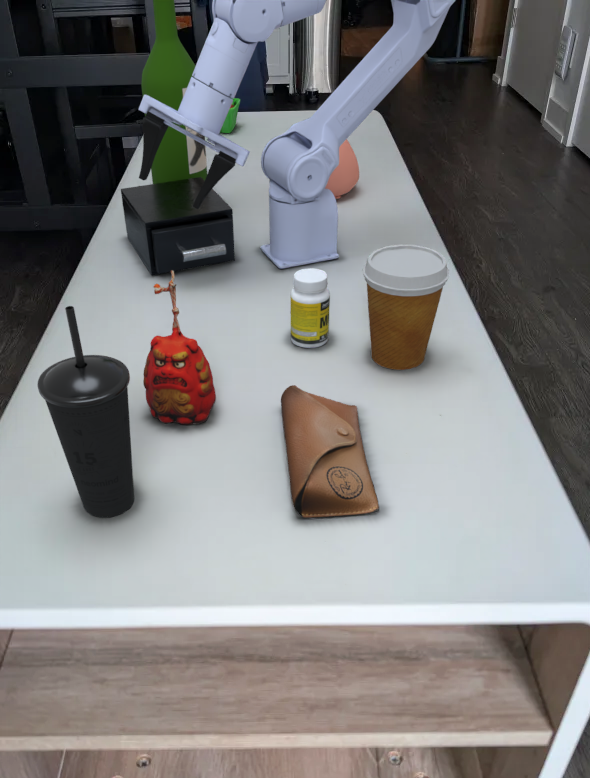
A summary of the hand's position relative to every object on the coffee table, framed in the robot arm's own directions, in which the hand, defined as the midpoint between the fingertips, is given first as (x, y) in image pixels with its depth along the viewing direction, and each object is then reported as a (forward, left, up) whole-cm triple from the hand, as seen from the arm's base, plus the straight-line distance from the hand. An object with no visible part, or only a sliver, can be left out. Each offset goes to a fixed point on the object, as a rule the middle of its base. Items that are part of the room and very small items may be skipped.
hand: (169, 193), depth 104 cm
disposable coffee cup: (-18, +31, -12) cm, 38 cm away
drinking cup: (+20, +44, -12) cm, 50 cm away
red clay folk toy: (+9, +32, -12) cm, 35 cm away
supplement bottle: (-10, +23, -12) cm, 28 cm away
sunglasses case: (-2, +46, -12) cm, 48 cm away
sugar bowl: (-32, -24, -12) cm, 42 cm away
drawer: (-3, -5, -11) cm, 13 cm away
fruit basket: (-27, -67, -12) cm, 73 cm away
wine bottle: (-8, -25, -12) cm, 29 cm away
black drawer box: (-3, -10, -12) cm, 16 cm away
